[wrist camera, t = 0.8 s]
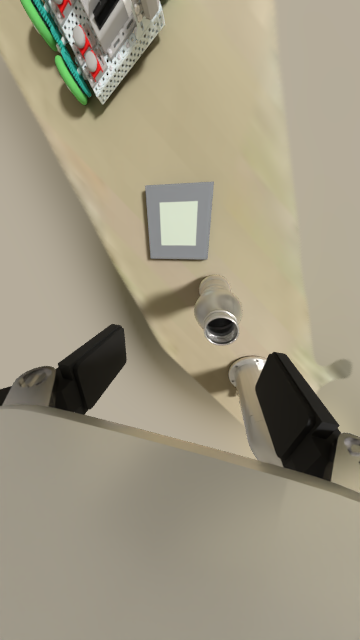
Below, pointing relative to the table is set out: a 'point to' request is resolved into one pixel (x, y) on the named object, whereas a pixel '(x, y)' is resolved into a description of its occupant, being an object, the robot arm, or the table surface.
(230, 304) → the plastic bottle
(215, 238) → the table surface
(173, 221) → the grey flat square slab
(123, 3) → the robot kit
